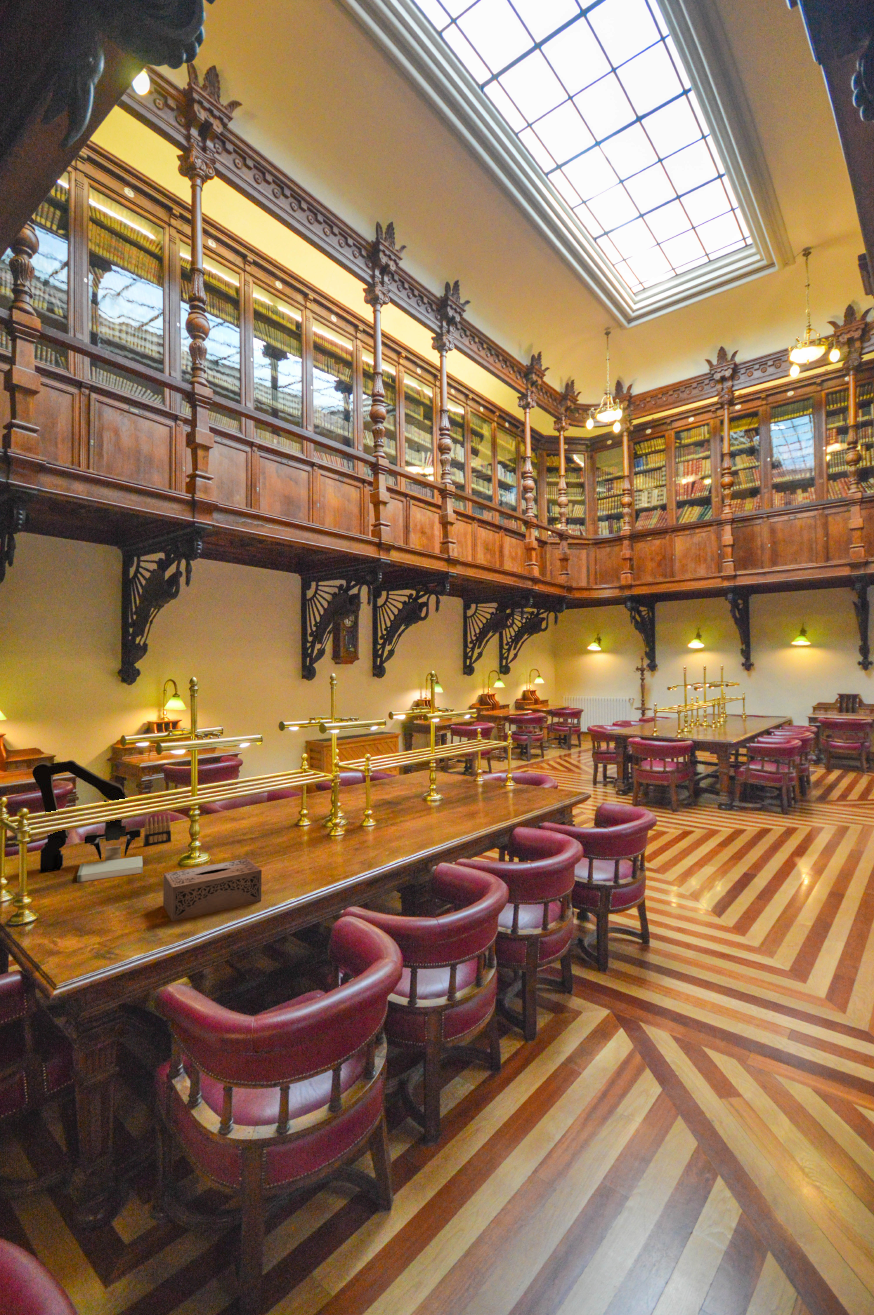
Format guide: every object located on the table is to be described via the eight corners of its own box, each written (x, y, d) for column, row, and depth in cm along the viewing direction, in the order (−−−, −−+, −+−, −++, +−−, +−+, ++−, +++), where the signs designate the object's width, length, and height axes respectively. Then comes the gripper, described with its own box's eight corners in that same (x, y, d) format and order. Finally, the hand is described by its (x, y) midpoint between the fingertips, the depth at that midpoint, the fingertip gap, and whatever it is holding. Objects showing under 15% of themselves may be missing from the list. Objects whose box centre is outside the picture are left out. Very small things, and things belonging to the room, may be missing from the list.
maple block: (105, 864, 216) (105, 850, 216) (105, 860, 220) (106, 847, 221) (120, 862, 218) (120, 849, 218) (120, 858, 223) (120, 845, 223)
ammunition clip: (144, 847, 238) (145, 818, 239) (143, 846, 240) (143, 817, 240) (171, 842, 246) (171, 814, 246) (169, 841, 247) (170, 813, 248)
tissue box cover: (247, 888, 190) (247, 858, 190) (261, 902, 178) (261, 869, 178) (163, 906, 175) (163, 873, 175) (172, 922, 163) (172, 887, 164)
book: (77, 882, 196) (77, 875, 196) (80, 871, 208) (80, 863, 208) (142, 873, 205) (142, 866, 206) (142, 862, 218) (142, 855, 218)
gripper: (83, 824, 209) (82, 867, 208) (141, 818, 217) (140, 859, 217) (86, 818, 218) (85, 859, 218) (140, 812, 227) (140, 852, 226)
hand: (112, 857), depth 219 cm, fingers open, 8 cm apart
